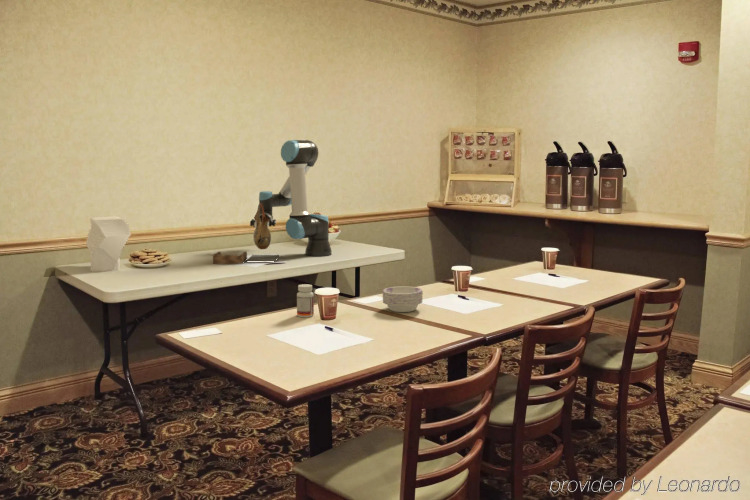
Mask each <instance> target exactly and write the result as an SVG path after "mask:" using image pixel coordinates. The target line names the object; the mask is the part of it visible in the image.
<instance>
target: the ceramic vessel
mask: <svg viewBox="0 0 750 500" xmlns="http://www.w3.org/2000/svg"><path fill="white" fill-rule="evenodd" d="M260 205H261V209H262V223H261V219H260ZM253 219H254V220H255V221H257V227H256V228H254V230H253V242H254V245H255V246H256V247H257V248H258V249H259V250H266V249H268V248H269V246H270V245H271V241H272V233H271V231H270V228H267V223H268V221H269V219H268V218H266V217H265V213H264V208H263V205H262V204H261V203H260V204H259V203H258V206H257V211H256V213H255V215H254V217H253Z"/></svg>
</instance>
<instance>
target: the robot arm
mask: <svg viewBox="0 0 750 500" xmlns="http://www.w3.org/2000/svg"><path fill="white" fill-rule="evenodd" d="M280 156H281V159H282V160H283V162H285V166H286V167H287V168H288V170H289V171H288V173H289V176H288V177H287V179H286V180H285V182H284V184H283V186H282V187H281V189H280V190H279V192H278V193H273V191H269V190H262V191H260V192H259V195H258V200H259V201H258V205H259V204H260V203H261V204H262V205H263V208H264V213H265V217H266V218H268V219H269V221H268V223H267V228H268V229H270V227H276V224H277V220H276V219H275V218H274V216H273V208H278V207H289V206H291V212H290V214H289V215H288V216H289V218H288V219H287V221H286V223H285V230H286V233H287V235H288V236H289V237H290V238H291V239H294V240H302V239H307V244H306V247H305V251H304V254H305V256H311V257H326V256H331V255H333V253H332V252H333V251H332V247H331V244H330V240H329V234H330V233H329V229H330V228H329V225H330V224H329V223H330V222H329V216H328V215H326V214H315V213H310V212H309V211H308V200H307V199H308V198H307V186H306V185H307V183H306V175H307V173H308V172H309V170H310V169H311V168H312V167H314V166H315V164H316V162H317V160H318V158H319V148H318V146H317V144H316V143H314V142H313V141H311V140H308V139H305V140H302V139H299V140H298V139H293V140H286V141H285V142H284V143H283V144H282V146H281V149H280ZM260 219H261V223H262V209H261V205H260ZM249 223H250V224H249V225H250V227H253V228H254V229H256V227H257V221H255V219H254V218H253V219H251V220H250V221H249Z"/></svg>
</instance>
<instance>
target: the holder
mask: <svg viewBox="0 0 750 500" xmlns="http://www.w3.org/2000/svg"><path fill="white" fill-rule="evenodd" d="M221 253H222V252H221V251H217V252H216V253H214V254H213V255H212V263H213V264H214V265H215V264H216V265H239V264H238V263H243V262H244V261H245V260H246V259H248V252H247V251H243V252H242V253H241V254H221ZM246 261H247V260H246ZM246 261H245V262H246ZM245 262H244V263H245ZM244 263H243V264H244Z"/></svg>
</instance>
